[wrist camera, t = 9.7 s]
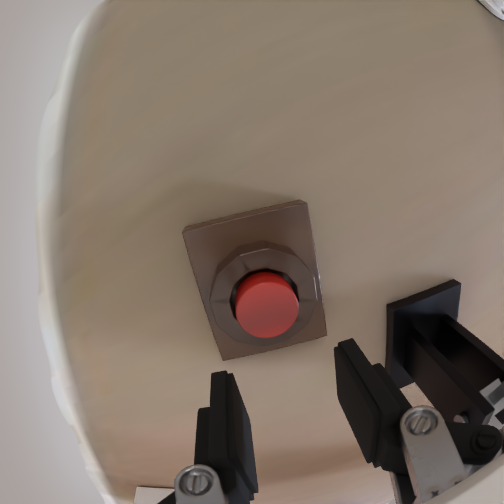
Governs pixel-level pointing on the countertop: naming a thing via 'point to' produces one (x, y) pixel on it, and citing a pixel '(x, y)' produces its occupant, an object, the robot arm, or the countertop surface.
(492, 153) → the countertop surface
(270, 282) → the button
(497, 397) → the lever
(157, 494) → the milk carton
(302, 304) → the button block
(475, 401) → the black lever base
